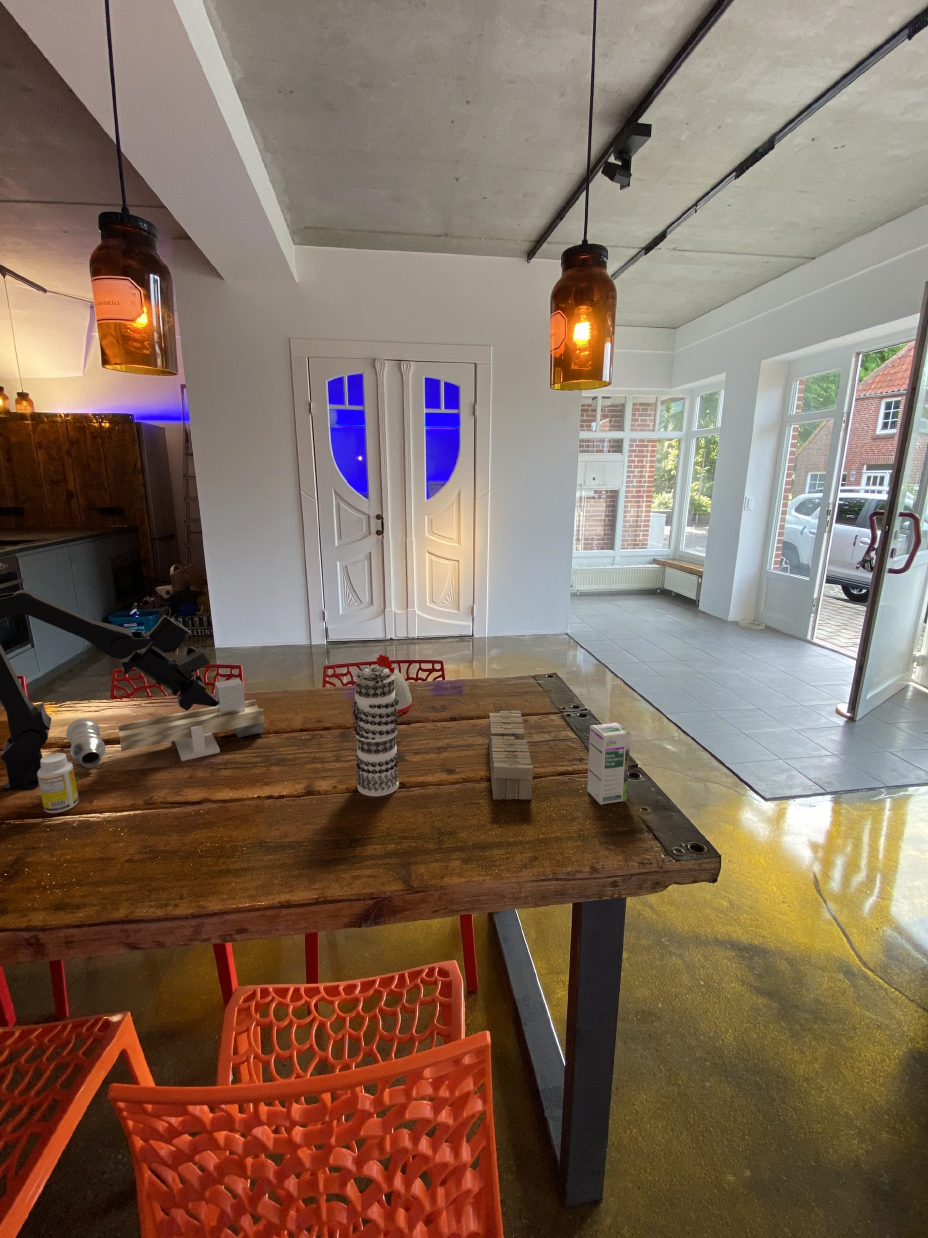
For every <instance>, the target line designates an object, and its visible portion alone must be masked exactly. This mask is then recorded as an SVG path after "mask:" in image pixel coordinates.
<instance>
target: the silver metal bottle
mask: <svg viewBox="0 0 928 1238" xmlns="http://www.w3.org/2000/svg"><path fill="white" fill-rule="evenodd" d="M100 734H101V729H100V726H99V724H98V723H97V722H96V721H95V720H93V719H91V718H86V717H82V718H78V719H75V720H73V721H72V722H71V723H70V724H69V726H68V727H67V728H66V733H65V735H66V738H67V740H68V742H69V743H70V745H71V746H70V748H69V749H70V750H69V754H70V758H71V759H72V760H73V761H74V762H75V763H77V764H79V765H82V766H83V767H85V768H94V767H96V766H98V765H99V764H100V763H101V761H102V758H103V757H104V755H105V753H106V748H107V747H106V745H105V742H104V741H103V739H101V738H100Z"/></svg>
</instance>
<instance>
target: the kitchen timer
mask: <svg viewBox="0 0 928 1238" xmlns="http://www.w3.org/2000/svg"><path fill="white" fill-rule="evenodd" d="M375 659H376V663H377V666H381V667H385V668H387V669H389V671H390V672H391V673H392V674H394V675H395V678H394V690H395V693H396V694H398V696H396V697H397V698H396V699H397V700H398V701H399V703H398V705H396V706H394V707H395V708H396V709H398V714H400V713H404V712H406V711H408V710H409V709H410V708H411V707H412V708H413V701H412V700H413V699H412V695H411V694H412V693H411V692H410V687H411V686H410V682H409V681H408V682H406V679H405V678H404V677H403V676H402V674H401V673H400V671H398V670H397V669H396V667H395V666H394V667H392V665H393V662H392V661H390V657H389V656H387V655H386V654H385V655H383V654H379V655H378V657H376V658H375ZM412 708H411V709H412ZM408 712H409V711H408ZM406 713H407V712H406ZM404 714H405V713H404Z"/></svg>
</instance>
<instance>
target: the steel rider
mask: <svg viewBox="0 0 928 1238" xmlns="http://www.w3.org/2000/svg"><path fill="white" fill-rule="evenodd" d="M244 688H245V687H244V683H243V681H242V680H241V679H240V678H235V679H229V680H222V681H217V682H214V690H215V700H216V701H217V702H218V705H217V712H218V715H219V717H221V716H227V715H232V714H237V713H242V712H246V711H245V690H244Z"/></svg>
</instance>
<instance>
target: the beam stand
mask: <svg viewBox="0 0 928 1238" xmlns="http://www.w3.org/2000/svg"><path fill="white" fill-rule="evenodd" d="M191 734H192V737H190V738H185V739H180V740H175V741H174V742H175V746H176V748H177V752H178V755H179V758H180V760H181V762H183V761H184V762H185V761H188V760H193V759H197V758H202V757H206V756H210V755H211V756H212V755H214V754H219V753H220V752H221V751H220V747H219V745H218V743H217V741H216V739H215V737H214V735H213V733H210V734H205V735H204V732H203V726H202V725H199V726H194V727H191Z"/></svg>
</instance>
